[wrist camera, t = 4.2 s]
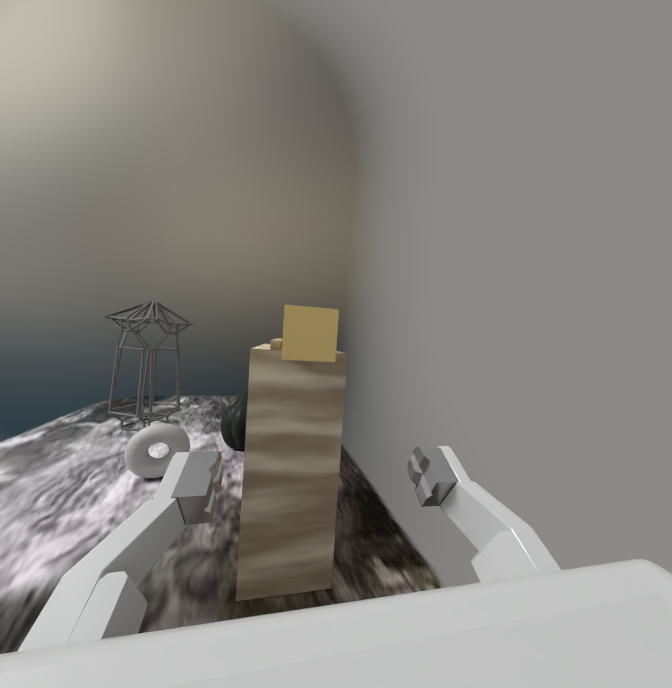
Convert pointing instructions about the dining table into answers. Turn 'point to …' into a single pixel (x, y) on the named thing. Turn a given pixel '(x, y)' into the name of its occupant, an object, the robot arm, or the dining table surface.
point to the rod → (309, 334)
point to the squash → (235, 422)
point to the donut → (143, 439)
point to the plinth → (290, 474)
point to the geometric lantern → (150, 350)
